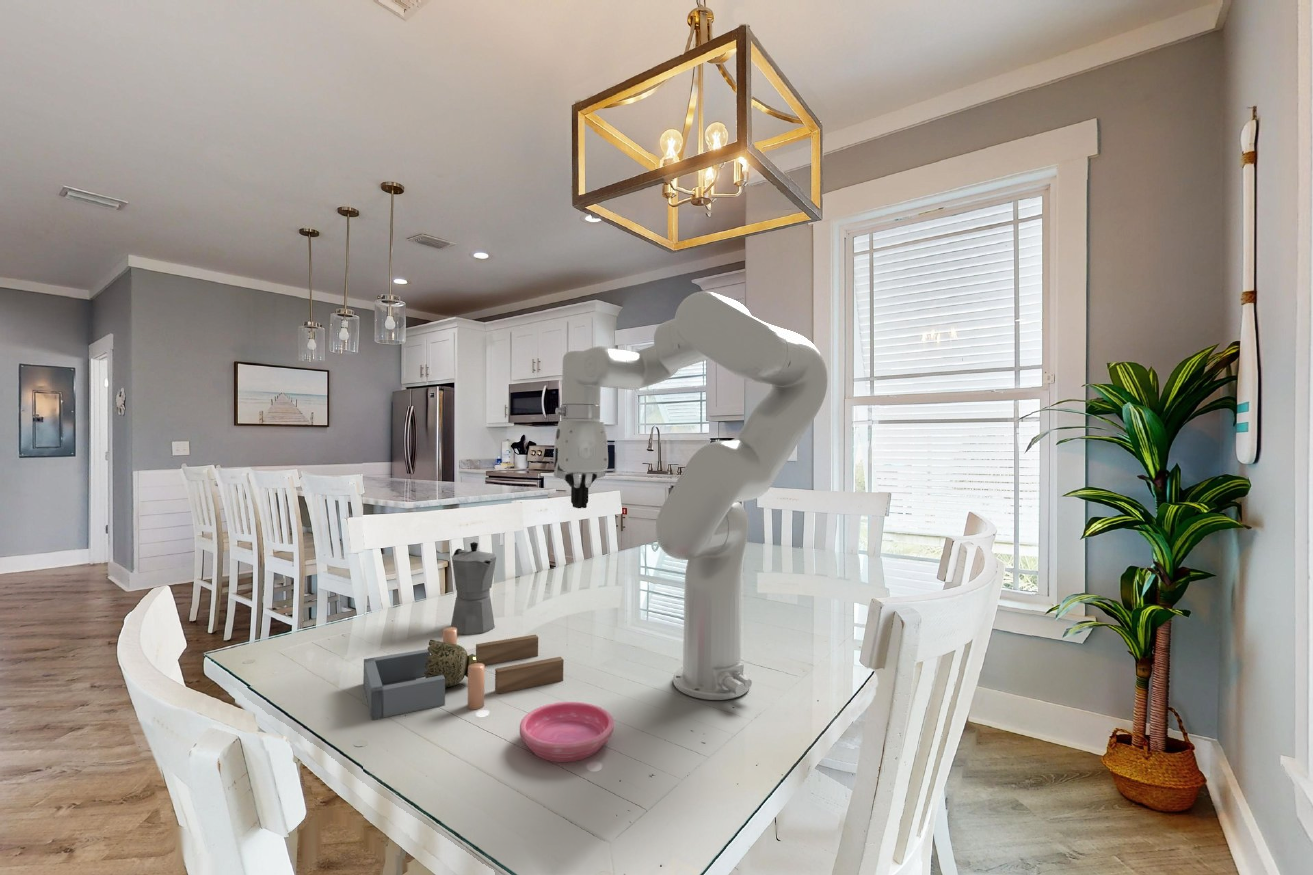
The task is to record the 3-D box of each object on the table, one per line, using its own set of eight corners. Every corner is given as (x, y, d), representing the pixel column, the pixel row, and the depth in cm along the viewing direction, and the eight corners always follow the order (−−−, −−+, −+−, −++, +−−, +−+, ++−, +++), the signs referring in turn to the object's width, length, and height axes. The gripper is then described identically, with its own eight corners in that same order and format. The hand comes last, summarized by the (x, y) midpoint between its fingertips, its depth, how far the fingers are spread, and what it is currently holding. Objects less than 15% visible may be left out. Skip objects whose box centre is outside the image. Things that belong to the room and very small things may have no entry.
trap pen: (444, 704, 91) (445, 678, 91) (371, 719, 85) (372, 691, 85) (428, 672, 103) (428, 648, 103) (363, 683, 98) (363, 659, 98)
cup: (471, 684, 102) (422, 682, 99) (478, 639, 103) (429, 636, 101) (473, 695, 95) (419, 694, 92) (480, 646, 96) (428, 644, 94)
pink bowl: (569, 713, 89) (570, 692, 89) (632, 742, 81) (632, 718, 81) (499, 746, 79) (500, 722, 79) (563, 782, 72) (563, 756, 72)
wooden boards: (563, 680, 100) (563, 659, 100) (497, 693, 95) (497, 671, 95) (535, 653, 112) (535, 634, 112) (475, 663, 107) (476, 644, 107)
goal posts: (485, 707, 90) (486, 667, 90) (469, 710, 89) (470, 670, 89) (454, 659, 108) (455, 626, 108) (441, 661, 107) (441, 628, 107)
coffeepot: (508, 630, 125) (510, 544, 124) (466, 641, 118) (467, 549, 118) (473, 613, 136) (475, 534, 136) (433, 622, 129) (434, 538, 129)
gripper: (553, 412, 111) (551, 511, 111) (623, 415, 119) (621, 507, 119) (537, 413, 117) (536, 507, 118) (605, 416, 125) (604, 503, 126)
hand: (579, 507), depth 118 cm, fingers closed
